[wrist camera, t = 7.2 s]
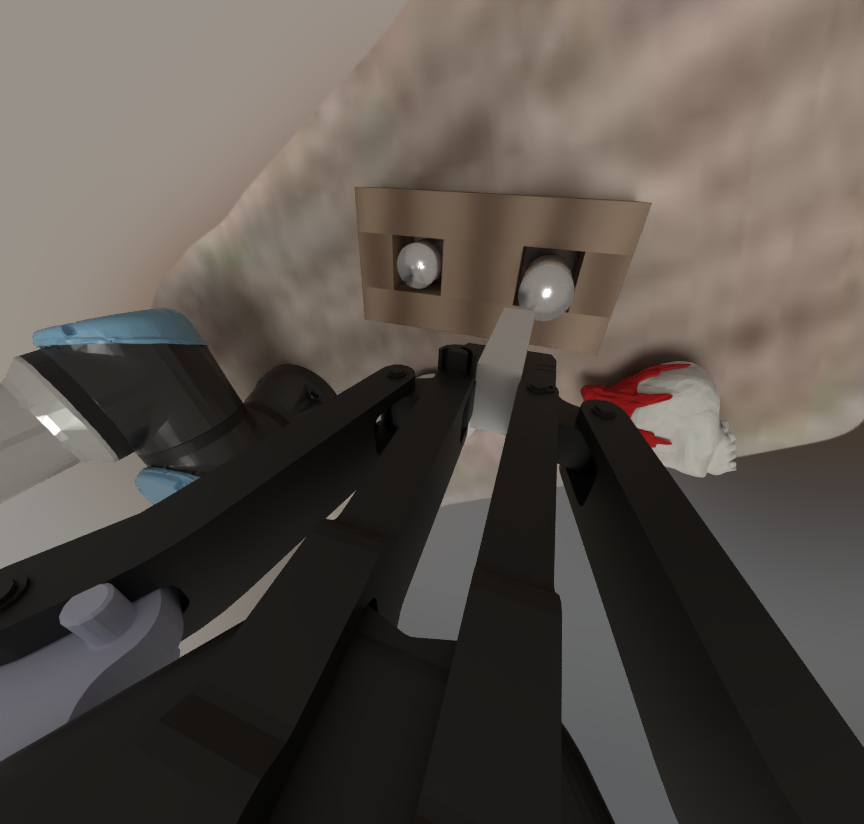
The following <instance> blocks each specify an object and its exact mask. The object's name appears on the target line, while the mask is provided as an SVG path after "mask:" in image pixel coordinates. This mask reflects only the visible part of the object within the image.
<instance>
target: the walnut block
mask: <svg viewBox="0 0 864 824" xmlns="http://www.w3.org/2000/svg"><path fill="white" fill-rule="evenodd" d="M355 199H356V211H357V224H358V236H359V249H360V262H361V274H362V287H363V299H364V312H365V319H367V320H373V321H380V322H386V323H393V324H399V325H406V326H413V327H419V328H426V329H432V330H439V331H445V332H452V333H458V334H465V335H471V336H478V337H484V338H490V337H491V334H492V332H493V330H494V328H495V326H496V324H497V322H498V320H499V318H500V316H501V314H502V312H503V310H504V308H505V307H506V308H514V309H521V308H520V305H519V301H518V292H519V290H518V288H519V282H520V277H521V272H522V266H523V261H524V256H525V250H526V246H528V247H539V248H550V249H562V250H573V251H578V255H577V258H576V262H575V266H574V269H573V273H572V279H573V284H574V298H573V301H572V303H571V305H570V306H569V308H568V309H567V310H566V311H565V312H564V313H563V314H562V315H561V316H559V317H557V318H555V319H553V320H549V321H537V320H534V322H533V327H532V331H531V336H530V341H529V344H530V345H537V346H543V347H550V348H556V349H563V350H569V351H576V352H582V353H589V354H595V355H597V353H598V350H599V347H600V345H601V342H602V339H603V336H604V334H605V331H606V328H607V325H608V323H609V320H610V317H611V314H612V312H613V309H614V306H615V303H616V301H617V298H618V295H619V292H620V289H621V287H622V284H623V281H624V278H625V276H626V273H627V270H628V267H629V265H630V262H631V259H632V256H633V254H634V251H635V248H636V245H637V243H638V240H639V237H640V234H641V232H642V229H643V226H644V223H645V221H646V218H647V215H648V212H649V210H650V207H651V204H652V203H648V202H639V201H624V200H605V199H587V198H568V197H549V196H531V195H512V194H493V193H475V192H456V191H437V190H418V189H400V188H379V187H355ZM414 237H425V238H437V239H444V246H443V264H442V281H436V280H435V281H433V282H432V283H431V284H429V285H428V286H426V287H424V288H413V287H410V286H409V285H407V284H406V283H405V282H404V281H403V280H402V279H401V277H400V275H399V272H398V268H397V260H398V256H399V253H400V252H401V250H402V249H403V248H404V247H405V246H407V245H409V244H411V243H414Z"/></svg>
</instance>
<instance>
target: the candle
mask: <svg viewBox="0 0 864 824" xmlns="http://www.w3.org/2000/svg"><path fill="white" fill-rule="evenodd" d="M581 394H582V397H583V399H584V401H587V400H592V399H598V400H606V401H608V402H612V403H614V404H615V405H617V406H619V407H621V408H622V409H623V410H624V411H625V412H626V413H627V414H628V416H629V417H630V418H631V420H632V421H633V423H634V424H635V425H636V427H637V428H638V430H639V431H640V433H641V434H642V435H643V437H644V438H645V440H646V441H647V442H648V444H649V445H650V447H651V448H652V449H653V451H654V452H655V454H656V455H657V457H658V458H659V459H660V461H661V462H662V464H663V465H664V466H668V467H671V468H674V469H676V470H678V471H680V472H683V473H685V474H689V475H692V476H696V477H705V476H706V473H707V472H708V473H711V474H714V475H719V474H722V473H724V472H728V471H735V470H736V468H734V467H735V466H736V462H731V460H732V459H734V458H736V453H735V452H733V451H734V450H736V448H737V446H736V444H735V443H731V442H733V441H734V440H736V437H735V436H734V434H733V433H727V434H726V432H727V431H728V426H729V423H728V422H727V421H724V420H720V419H719V411H720V396H719V393H718V391H717V388H716V385H715V383H714V381H713V380H712V379H711V377H710V376H709V374H708V373H707V372H706V371H705V370H704V369H703V368H701V367H700V366H699V365H697V364H695V363H692V362H686V361H675V362H669V363H663V364H660V365H655V366H650V367H647V368H645V369H643V370H641V371H639V372H638V373H636V374H635V375H633V376H630V377H627V378H625V379H623V380H621V381H620V382H618V383H617V384H616V385H614V386H610V387H605V386H604V385H596V386H589V385H585V386H584V387H583V388H581Z"/></svg>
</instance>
